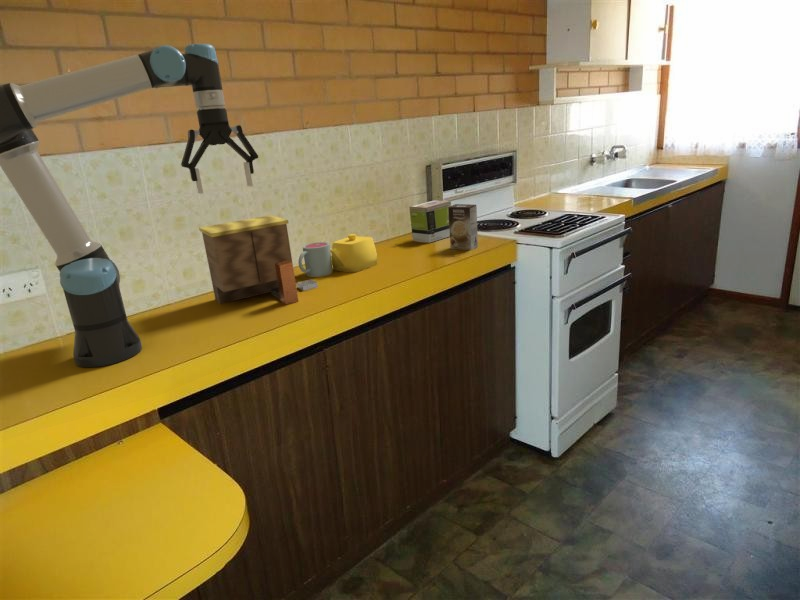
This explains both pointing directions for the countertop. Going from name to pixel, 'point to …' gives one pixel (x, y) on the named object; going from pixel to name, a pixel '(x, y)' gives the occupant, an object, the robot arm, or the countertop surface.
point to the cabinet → (245, 256)
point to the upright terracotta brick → (285, 283)
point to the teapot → (353, 253)
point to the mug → (316, 259)
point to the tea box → (430, 221)
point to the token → (307, 285)
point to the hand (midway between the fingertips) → (225, 189)
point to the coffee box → (463, 226)
